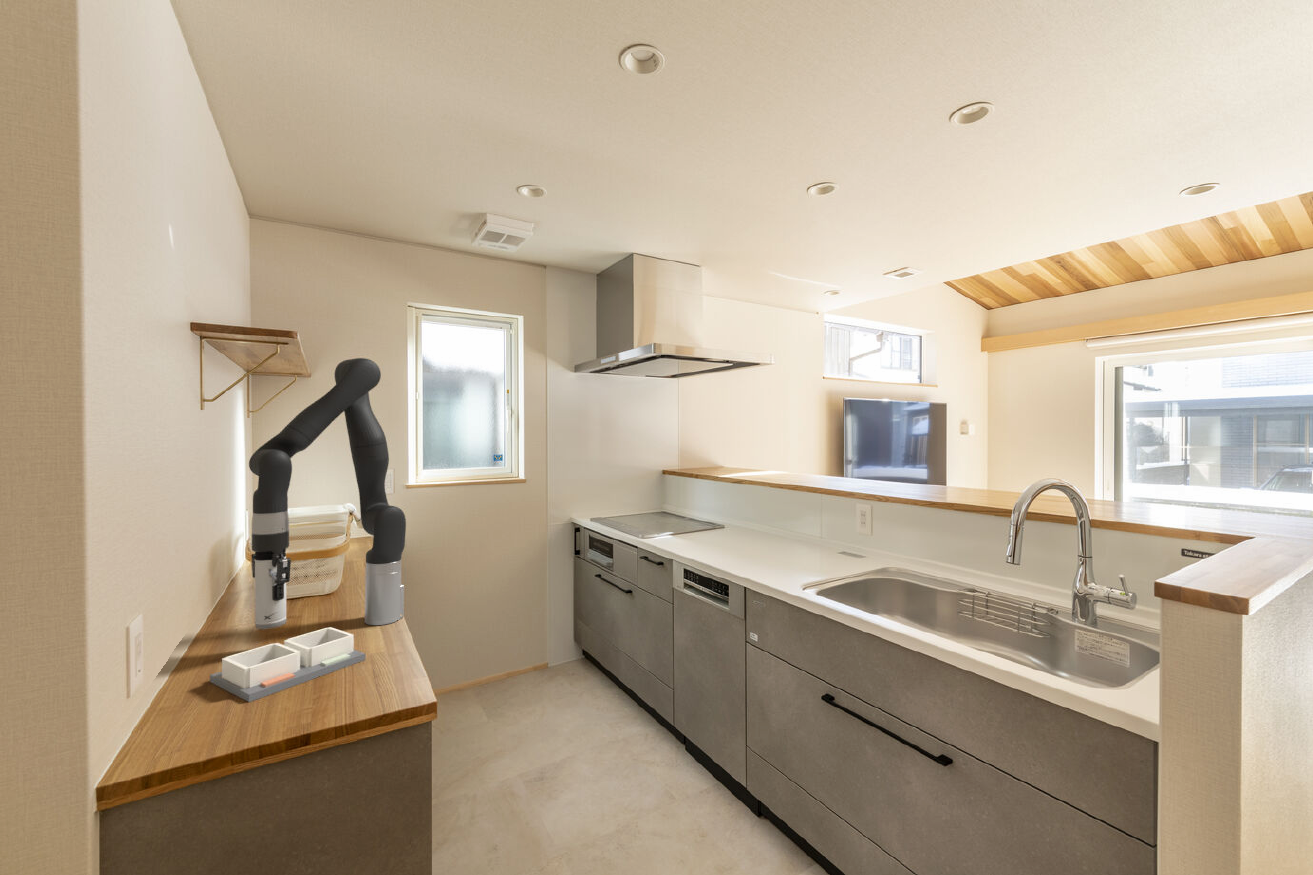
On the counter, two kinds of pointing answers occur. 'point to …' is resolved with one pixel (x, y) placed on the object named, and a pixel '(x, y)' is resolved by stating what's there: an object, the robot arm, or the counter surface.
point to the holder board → (286, 663)
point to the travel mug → (267, 594)
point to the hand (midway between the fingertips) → (270, 597)
